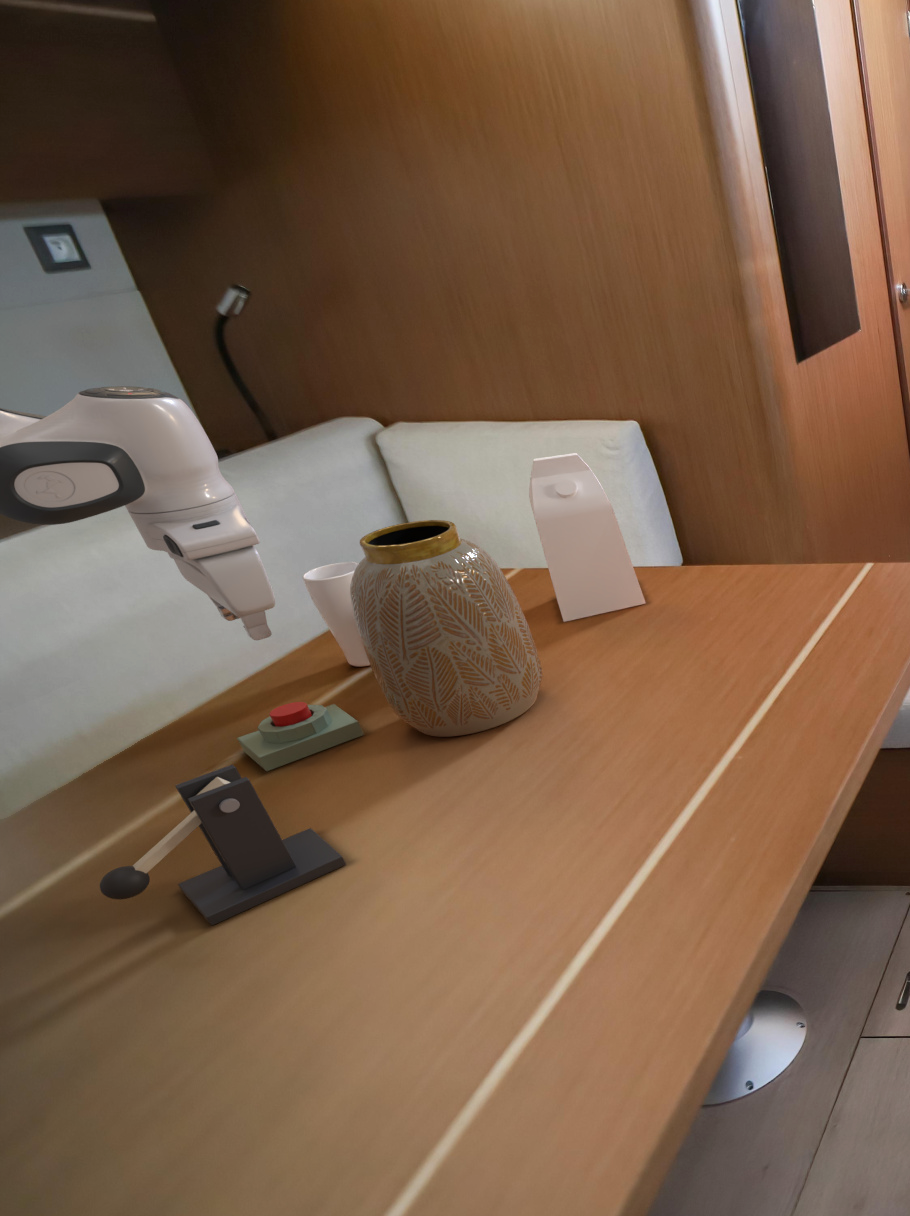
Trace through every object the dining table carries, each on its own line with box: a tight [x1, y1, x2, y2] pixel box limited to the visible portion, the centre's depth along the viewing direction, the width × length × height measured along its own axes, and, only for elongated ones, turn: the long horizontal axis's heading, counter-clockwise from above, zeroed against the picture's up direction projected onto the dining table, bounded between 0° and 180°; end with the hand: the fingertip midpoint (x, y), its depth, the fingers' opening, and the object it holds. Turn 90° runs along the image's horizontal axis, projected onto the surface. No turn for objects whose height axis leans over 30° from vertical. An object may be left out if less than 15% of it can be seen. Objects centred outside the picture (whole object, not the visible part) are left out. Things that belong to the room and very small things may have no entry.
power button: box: [269, 701, 312, 727], centre depth 124 cm, size 4×4×2 cm
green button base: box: [236, 703, 365, 772], centre depth 125 cm, size 10×8×4 cm
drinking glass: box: [302, 561, 371, 668], centre depth 143 cm, size 7×7×15 cm
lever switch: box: [99, 777, 231, 900], centre depth 96 cm, size 13×3×3 cm, turn 148°
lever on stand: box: [175, 764, 347, 926], centre depth 101 cm, size 11×9×13 cm
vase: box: [350, 519, 543, 738], centre depth 128 cm, size 17×17×27 cm
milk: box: [528, 452, 647, 623], centre depth 160 cm, size 12×12×26 cm
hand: (247, 627), depth 118 cm, fingers open, 8 cm apart
